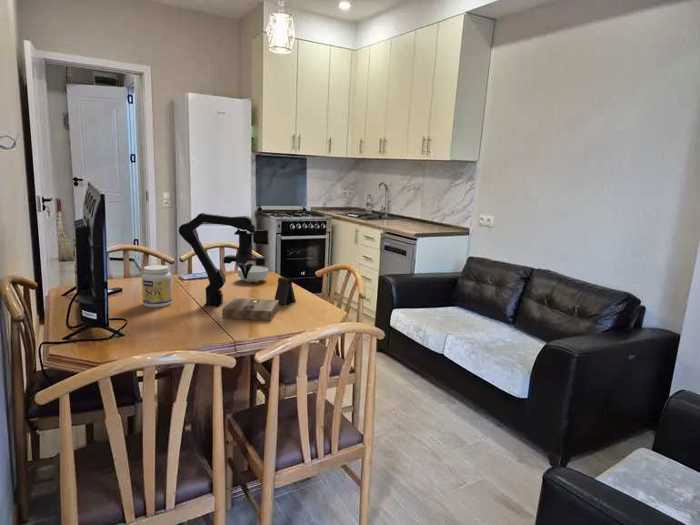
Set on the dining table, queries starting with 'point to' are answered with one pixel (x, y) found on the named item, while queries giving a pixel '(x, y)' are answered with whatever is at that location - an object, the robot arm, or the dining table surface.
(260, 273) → the cereal bowl
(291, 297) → the phone stand
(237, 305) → the walnut block
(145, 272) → the supplement tub
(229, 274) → the dining table surface
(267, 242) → the robot arm
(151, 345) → the dining table surface
